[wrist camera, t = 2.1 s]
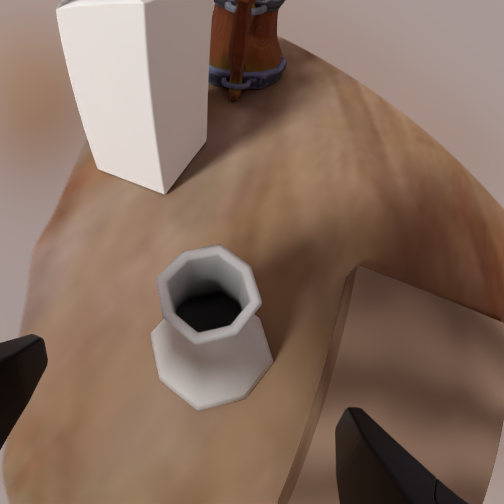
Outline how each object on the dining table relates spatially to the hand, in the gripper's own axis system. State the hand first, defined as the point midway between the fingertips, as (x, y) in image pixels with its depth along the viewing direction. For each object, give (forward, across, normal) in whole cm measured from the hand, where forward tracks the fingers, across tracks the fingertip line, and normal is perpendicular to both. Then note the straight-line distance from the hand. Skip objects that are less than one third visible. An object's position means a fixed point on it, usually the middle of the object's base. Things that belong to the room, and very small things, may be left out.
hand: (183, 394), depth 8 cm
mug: (+30, +4, -15) cm, 34 cm away
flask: (+10, 0, +5) cm, 11 cm away
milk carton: (+20, +9, -5) cm, 23 cm away
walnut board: (+8, -15, +7) cm, 18 cm away
